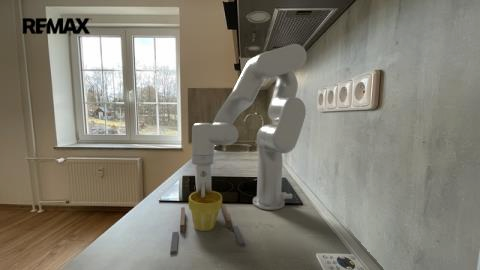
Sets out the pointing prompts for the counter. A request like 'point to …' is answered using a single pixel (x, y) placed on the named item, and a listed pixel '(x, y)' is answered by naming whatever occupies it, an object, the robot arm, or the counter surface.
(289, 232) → the counter surface
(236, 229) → the rubber strips
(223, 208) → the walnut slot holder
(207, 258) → the counter surface
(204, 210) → the plant pot
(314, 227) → the counter surface
